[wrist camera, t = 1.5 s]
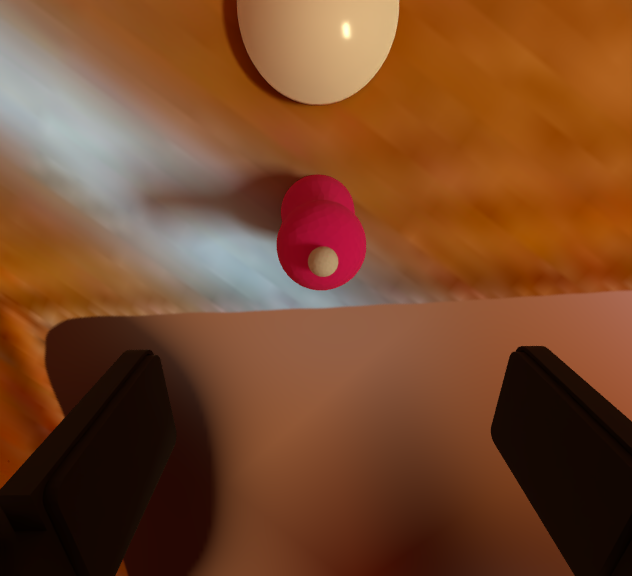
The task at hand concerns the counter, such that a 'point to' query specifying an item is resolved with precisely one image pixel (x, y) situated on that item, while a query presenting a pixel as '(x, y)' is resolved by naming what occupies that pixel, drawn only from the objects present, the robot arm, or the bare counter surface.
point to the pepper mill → (320, 234)
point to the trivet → (318, 44)
